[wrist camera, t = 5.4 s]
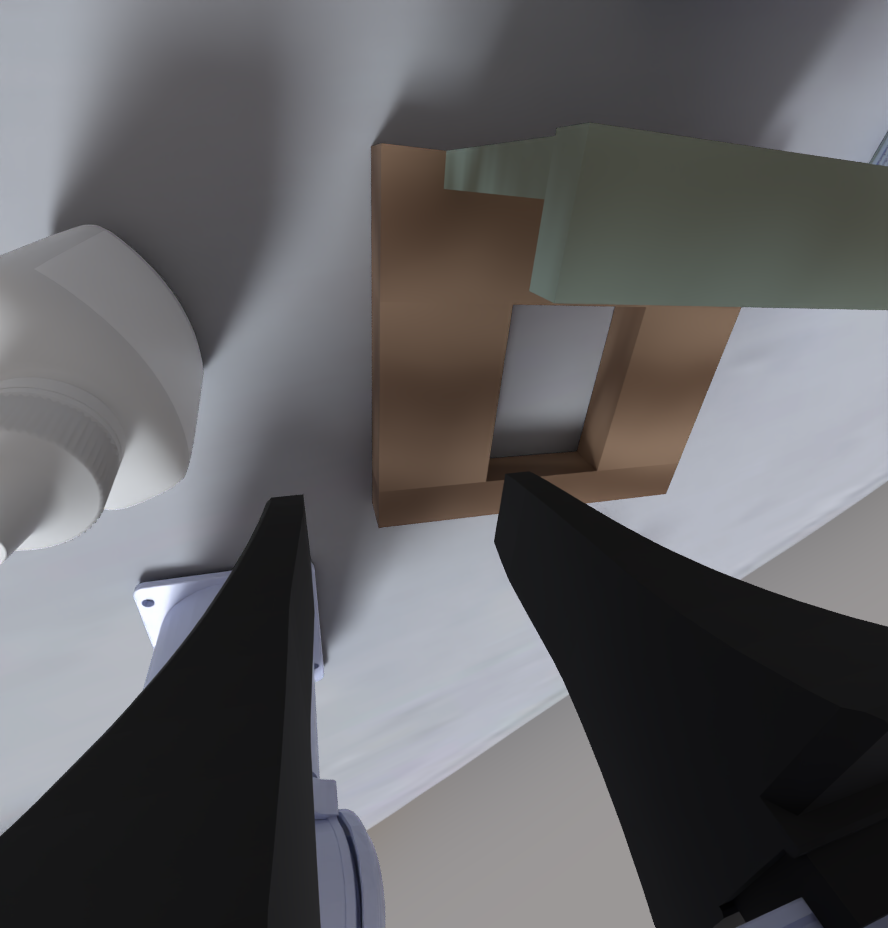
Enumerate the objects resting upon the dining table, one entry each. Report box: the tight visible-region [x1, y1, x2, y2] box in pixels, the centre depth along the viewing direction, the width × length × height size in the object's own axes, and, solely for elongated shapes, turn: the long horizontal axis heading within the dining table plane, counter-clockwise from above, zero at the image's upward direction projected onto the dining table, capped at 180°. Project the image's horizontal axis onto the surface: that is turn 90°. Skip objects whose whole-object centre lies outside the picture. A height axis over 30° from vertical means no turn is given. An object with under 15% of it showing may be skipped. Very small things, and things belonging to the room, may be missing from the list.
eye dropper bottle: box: [0, 225, 204, 565], centre depth 11 cm, size 4×6×12 cm
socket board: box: [371, 122, 888, 528], centre depth 17 cm, size 14×16×11 cm
